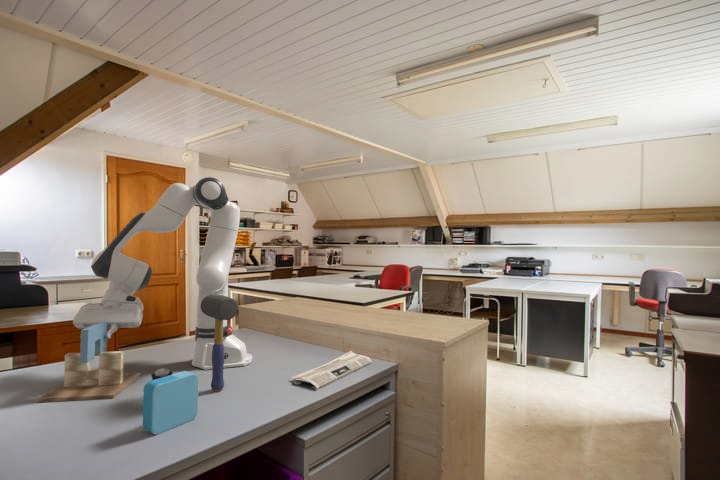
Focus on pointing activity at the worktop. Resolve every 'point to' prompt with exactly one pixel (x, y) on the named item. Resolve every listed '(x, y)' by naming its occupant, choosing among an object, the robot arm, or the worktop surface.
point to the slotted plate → (93, 342)
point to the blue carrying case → (170, 402)
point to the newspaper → (333, 370)
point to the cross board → (88, 391)
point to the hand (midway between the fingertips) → (100, 337)
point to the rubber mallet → (218, 332)
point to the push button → (161, 373)
